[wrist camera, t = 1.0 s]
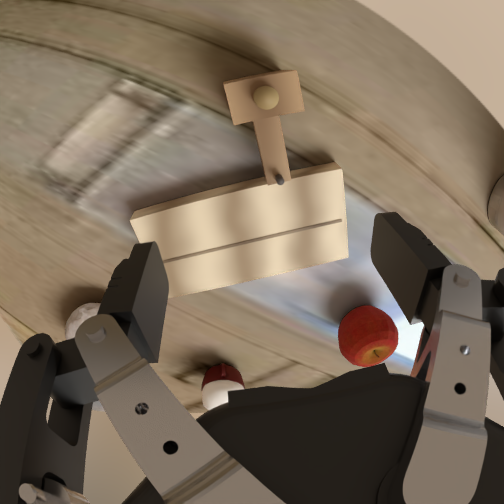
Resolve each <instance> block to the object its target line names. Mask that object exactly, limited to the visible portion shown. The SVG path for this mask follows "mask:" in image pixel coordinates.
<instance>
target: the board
mask: <svg viewBox="0 0 504 504" xmlns="http://www.w3.org/2000/svg"><path fill="white" fill-rule="evenodd" d="M290 175H291V181H286V182H284V184H283V185H278V184H273V185H267V182H266V179H265V177H260V178H256V179H252V180H248V181H243V182H239V183H235V184H231V185H227V186H223V187H219V188H215V189H211V190H207V191H203V192H200V193H196V194H192V195H188V196H185V197H181V198H178V199H174V200H170V201H167V202H163V203H160V204H157V205H153V206H150V207H146V208H143V209H140V210H136V211H134V213H133V215H132V217H131V219H130V222H131V224H132V227H133V229H134V231H135V233H136V236H137V238H138V240H139V242H140V243H145V242H152V241H155V242H156V243H157V245H158V247H159V251H160V254H161V257H162V261H163V264H164V267H165V270H166V273H167V277H168V282H169V294H168V298H173V297H178V296H183V295H187V294H192V293H197V292H202V291H206V290H211V289H215V288H220V287H224V286H229V285H233V284H238V283H242V282H247V281H251V280H256V279H260V278H264V277H269V276H273V275H277V274H282V273H286V272H290V271H294V270H299V269H303V268H307V267H311V266H315V265H320V264H324V263H328V262H332V261H336V260H340V259H344V258H348V238H347V221H346V206H345V194H344V182H343V172H342V168H341V167H340V166H339V165H338V164H337V163H335V162H332V163H327V164H322V165H317V166H312V167H307V168H302V169H297V170H292V171H290Z"/></svg>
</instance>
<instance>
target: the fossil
mask: <svg viewBox="0 0 504 504" xmlns="http://www.w3.org/2000/svg"><path fill="white" fill-rule="evenodd" d="M99 307H100V303H88V304H84V305H82V306H80V307H78V308H77V309H76V310H74V311H73V312H72V314H71V315H70V317H69V318H68V320H67V322H66V329H65V337H66V340H68V339H71V338H74V337H75V333H76V331H77V329H78V327H79V326H80V325H81V324H82V323H83V322H84V321H85V320H87V319H88V318H90V317H92V316H95V315H97V312H98V310H99Z"/></svg>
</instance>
